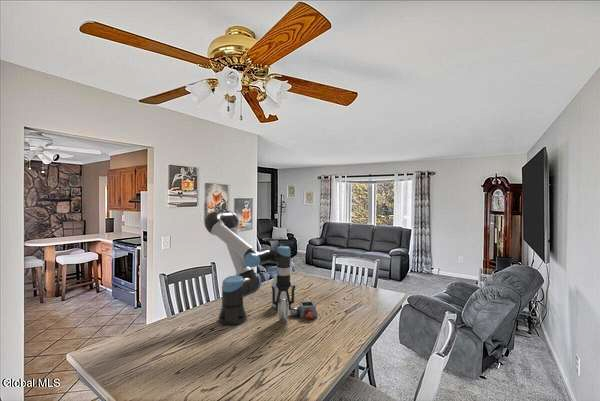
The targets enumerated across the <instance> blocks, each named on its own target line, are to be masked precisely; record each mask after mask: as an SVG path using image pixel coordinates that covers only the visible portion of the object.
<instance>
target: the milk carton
mask: <svg viewBox="0 0 600 401" xmlns="http://www.w3.org/2000/svg"><path fill="white" fill-rule="evenodd" d="M276 283H277V275H275V277H274V279H273V280H272V282H271V286H272V285H273V286H274V285H276ZM278 290H279V289H278V288H277V287H276V289H275V301H276V299H277V295H278ZM280 298H287V295H286V291H282V292H281V295H280ZM278 304H279V303H278ZM271 307H273V308H275V309H276V305H275V304H273V302H272V301H271Z"/></svg>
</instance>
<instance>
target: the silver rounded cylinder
mask: <svg viewBox="0 0 600 401" xmlns="http://www.w3.org/2000/svg"><path fill="white" fill-rule="evenodd" d="M287 303H288V299H287V298H280V299H279V317H278V322H280V323H286V322H288V317H287Z"/></svg>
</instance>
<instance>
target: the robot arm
mask: <svg viewBox="0 0 600 401" xmlns="http://www.w3.org/2000/svg"><path fill="white" fill-rule="evenodd" d="M203 222H204V228H205V229H206V230H207V232H208V233H209V234H211V235H212V236H216V237H217V238H218V239H219V240H221V241H222V242H223V243H224V244H226V247H227V250H228V253H229V256H230V259H231V262H232V264H233V267H234V269H235V275H230V276H227V277H225V278H224V279H222V280H223V281H222V285H221V308H220V311H219V314H218V323H219V324H221V325H224V326H236V325H240V324H243V323H244V322H245V321H246V320H247V313H246V309H245V307H244V298H245V297H247V296H251V295H253V294H255V293H256V292H258V291H259V290H261V285H262V277H261V275H260V274H259V273H258V272H255V270H254V268H255V267H258V266H262V265H265V264H267V263H268V264H269V263H272V264H273V263H274V264H276V276H277V283H276V285H274V286H273V285H272V284H271V303H272V302H273V304H275V305H276V308H275V311H276V312H277V318H279V304H278V303H279V299H280V295H281V292H282V291H286V295H287V318H289V317H290V310H291V308H292V306H291V305H292V304H294V303H295V289H296V285H295V284H292V283H291V255H292V254H291V248H290V246H288V245H287V246H286V245H280V246H278V247H277V248H276V249H274V248H267V247H266V248H265V247H263V248H262V247H261V248H260V249H259V250H256V249H255V248H254V247H253V246H251V245H250V244H249V243H248V242H246V241H245V240H244V239H243V238H241V237H240V236H239V234H238V229H239V228H238V226H239V217H238V215H237V214H236V213H235V212H234V211H230V210H224V211H223V210H222V211H211V212H209V213H208V214H207V215H206V216H205V218H204V221H203ZM276 287H277V288H278V289H279V290H278V295H277V299H276V301H275V289H276ZM290 288H291V296H290V293H289V289H290ZM290 297H291V298H290Z"/></svg>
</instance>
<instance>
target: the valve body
mask: <svg viewBox="0 0 600 401" xmlns="http://www.w3.org/2000/svg"><path fill="white" fill-rule="evenodd" d="M316 307H317V306H316V303H315V304H314V301H313V300H312V301H311V300H309V301H308V300H307V301H299V306H297V307H291V310H289V317H297V316H298V317H299V319H306V320H308V321H311V320H313V319H316V318H318V310H317V308H316Z"/></svg>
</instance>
